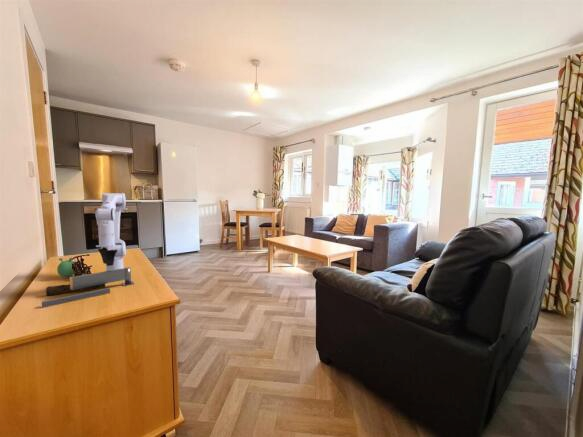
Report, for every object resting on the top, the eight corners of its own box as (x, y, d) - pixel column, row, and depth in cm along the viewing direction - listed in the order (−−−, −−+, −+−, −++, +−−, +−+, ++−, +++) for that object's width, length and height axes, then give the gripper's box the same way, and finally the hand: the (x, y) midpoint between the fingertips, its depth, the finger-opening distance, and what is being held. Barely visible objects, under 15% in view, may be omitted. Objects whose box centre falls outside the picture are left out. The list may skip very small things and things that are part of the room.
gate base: (122, 283, 112) (122, 283, 112) (132, 281, 115) (132, 281, 115) (123, 286, 109) (123, 285, 109) (134, 284, 112) (134, 283, 112)
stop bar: (42, 306, 89) (41, 301, 89) (109, 291, 103) (109, 287, 103) (42, 307, 88) (41, 302, 88) (110, 292, 102) (109, 288, 101)
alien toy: (80, 273, 126) (79, 255, 125) (72, 278, 118) (70, 258, 117) (63, 275, 123) (62, 256, 123) (54, 280, 116) (52, 260, 115)
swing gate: (130, 281, 113) (129, 267, 113) (131, 283, 112) (130, 268, 111) (71, 293, 99) (69, 277, 99) (71, 295, 98) (69, 278, 97)
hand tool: (45, 298, 97) (44, 286, 97) (49, 294, 101) (48, 283, 100) (103, 290, 105) (102, 279, 105) (105, 286, 109) (105, 276, 109)
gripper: (92, 234, 112) (94, 263, 112) (98, 236, 102) (99, 268, 102) (111, 233, 117) (113, 261, 117) (118, 234, 107) (119, 265, 107)
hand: (108, 264), depth 110 cm, fingers open, 7 cm apart
